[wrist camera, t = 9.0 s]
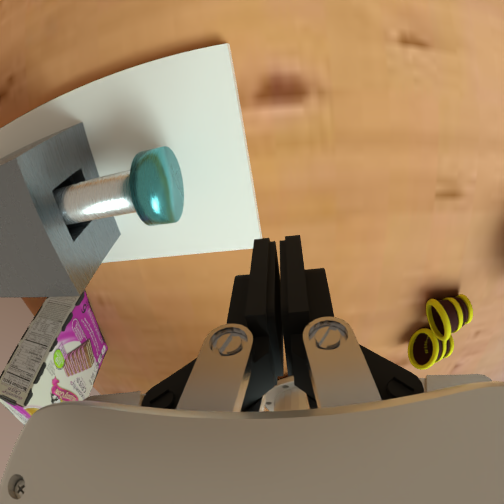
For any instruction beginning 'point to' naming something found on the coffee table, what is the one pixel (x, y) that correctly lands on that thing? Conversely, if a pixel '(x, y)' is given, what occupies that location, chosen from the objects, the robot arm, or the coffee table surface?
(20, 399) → the candy bar box
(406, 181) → the coffee table surface
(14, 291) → the shaft housing
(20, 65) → the coffee table surface
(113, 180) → the steel shaft
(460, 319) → the opera glasses
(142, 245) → the mounting board
